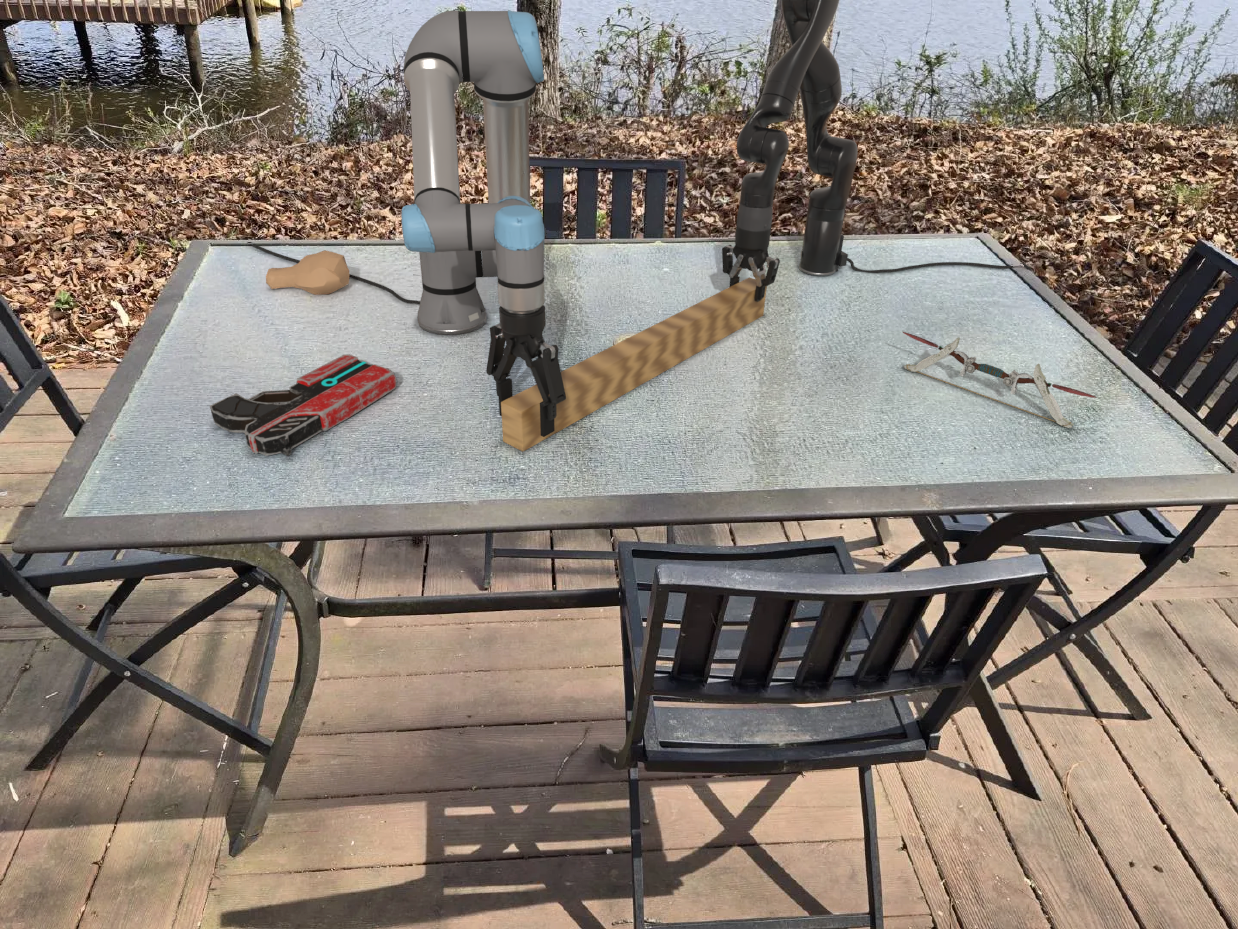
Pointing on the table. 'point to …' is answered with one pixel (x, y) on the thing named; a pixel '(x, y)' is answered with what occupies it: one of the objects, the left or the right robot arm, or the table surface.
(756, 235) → the right robot arm
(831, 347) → the table surface
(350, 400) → the gun
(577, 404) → the beam
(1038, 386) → the bow
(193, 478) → the table surface
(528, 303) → the left robot arm
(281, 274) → the squash
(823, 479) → the table surface
